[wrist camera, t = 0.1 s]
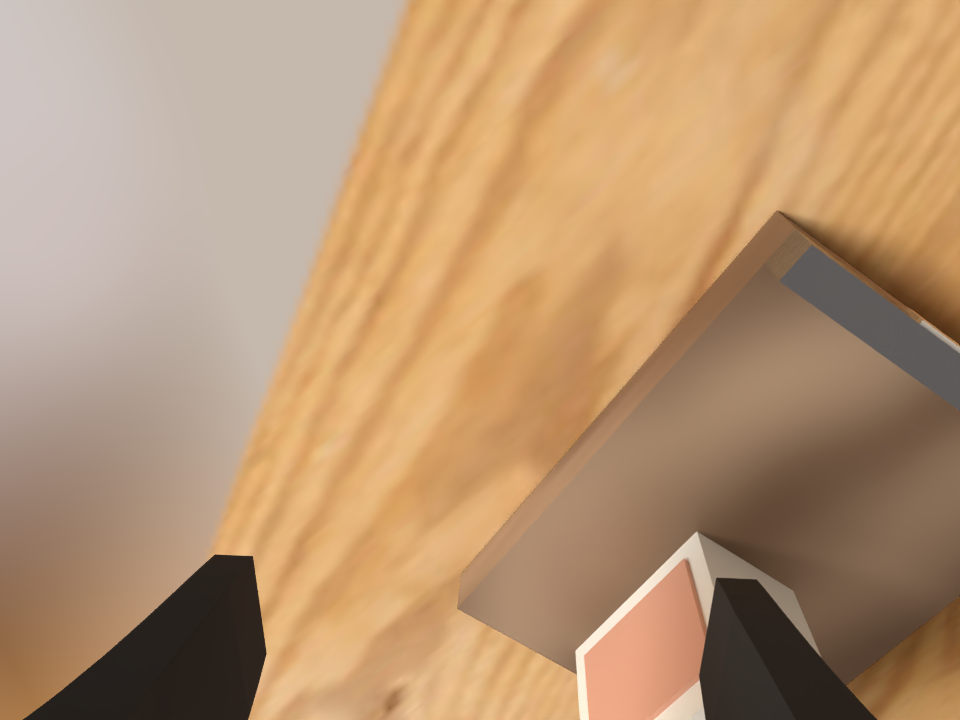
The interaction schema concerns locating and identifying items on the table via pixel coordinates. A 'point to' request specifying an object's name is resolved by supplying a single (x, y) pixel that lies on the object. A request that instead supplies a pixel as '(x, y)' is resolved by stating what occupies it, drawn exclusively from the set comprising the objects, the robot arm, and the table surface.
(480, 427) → the table surface
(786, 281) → the rail
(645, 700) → the carton
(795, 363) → the shelf board
